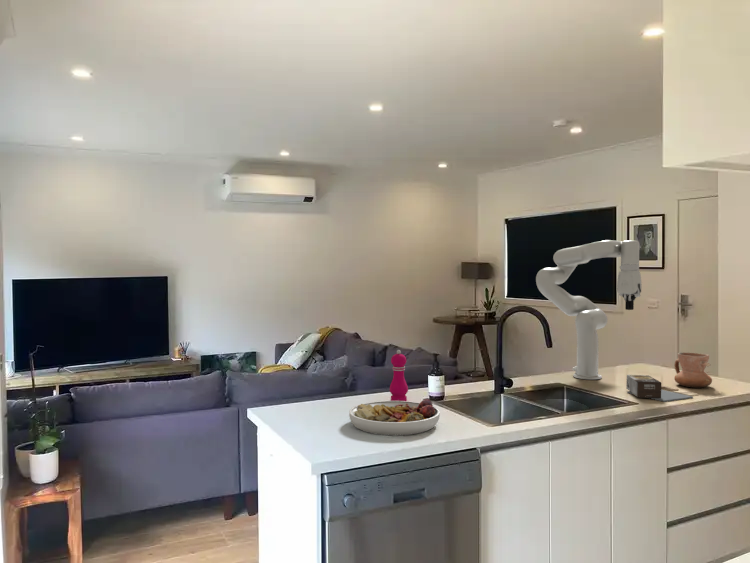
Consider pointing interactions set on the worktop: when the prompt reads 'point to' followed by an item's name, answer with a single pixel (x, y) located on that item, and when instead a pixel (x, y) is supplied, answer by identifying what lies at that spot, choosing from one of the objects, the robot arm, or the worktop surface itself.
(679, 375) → the ceramic jug
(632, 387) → the coffee box
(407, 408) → the bowl
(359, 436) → the worktop surface
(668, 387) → the turner
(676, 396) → the mat
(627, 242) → the robot arm
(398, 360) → the pepper mill
